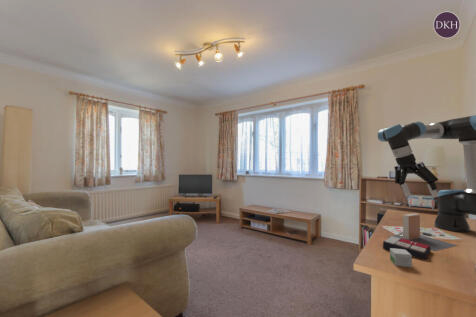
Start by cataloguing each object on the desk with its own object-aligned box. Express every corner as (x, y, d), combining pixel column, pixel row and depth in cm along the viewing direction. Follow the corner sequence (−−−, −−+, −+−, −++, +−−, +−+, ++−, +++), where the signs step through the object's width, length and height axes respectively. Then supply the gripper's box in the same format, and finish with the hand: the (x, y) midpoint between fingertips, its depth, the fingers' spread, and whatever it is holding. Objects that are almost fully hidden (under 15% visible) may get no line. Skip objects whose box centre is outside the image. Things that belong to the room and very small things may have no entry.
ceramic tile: (414, 236, 115) (414, 213, 115) (420, 237, 113) (420, 214, 113) (403, 238, 112) (403, 214, 112) (409, 239, 110) (408, 216, 110)
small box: (389, 259, 89) (389, 247, 89) (406, 261, 87) (406, 249, 87) (394, 265, 84) (394, 253, 84) (412, 268, 82) (412, 255, 82)
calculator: (425, 252, 88) (382, 239, 100) (424, 262, 88) (382, 249, 100) (430, 245, 95) (390, 234, 107) (430, 255, 95) (390, 243, 107)
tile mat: (410, 233, 121) (410, 232, 121) (458, 246, 102) (458, 245, 102) (388, 237, 115) (388, 236, 115) (434, 252, 96) (434, 251, 96)
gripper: (378, 161, 119) (393, 197, 117) (422, 153, 94) (442, 200, 93) (389, 156, 120) (404, 193, 119) (435, 148, 96) (455, 194, 94)
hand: (421, 196), depth 106 cm, fingers open, 13 cm apart
